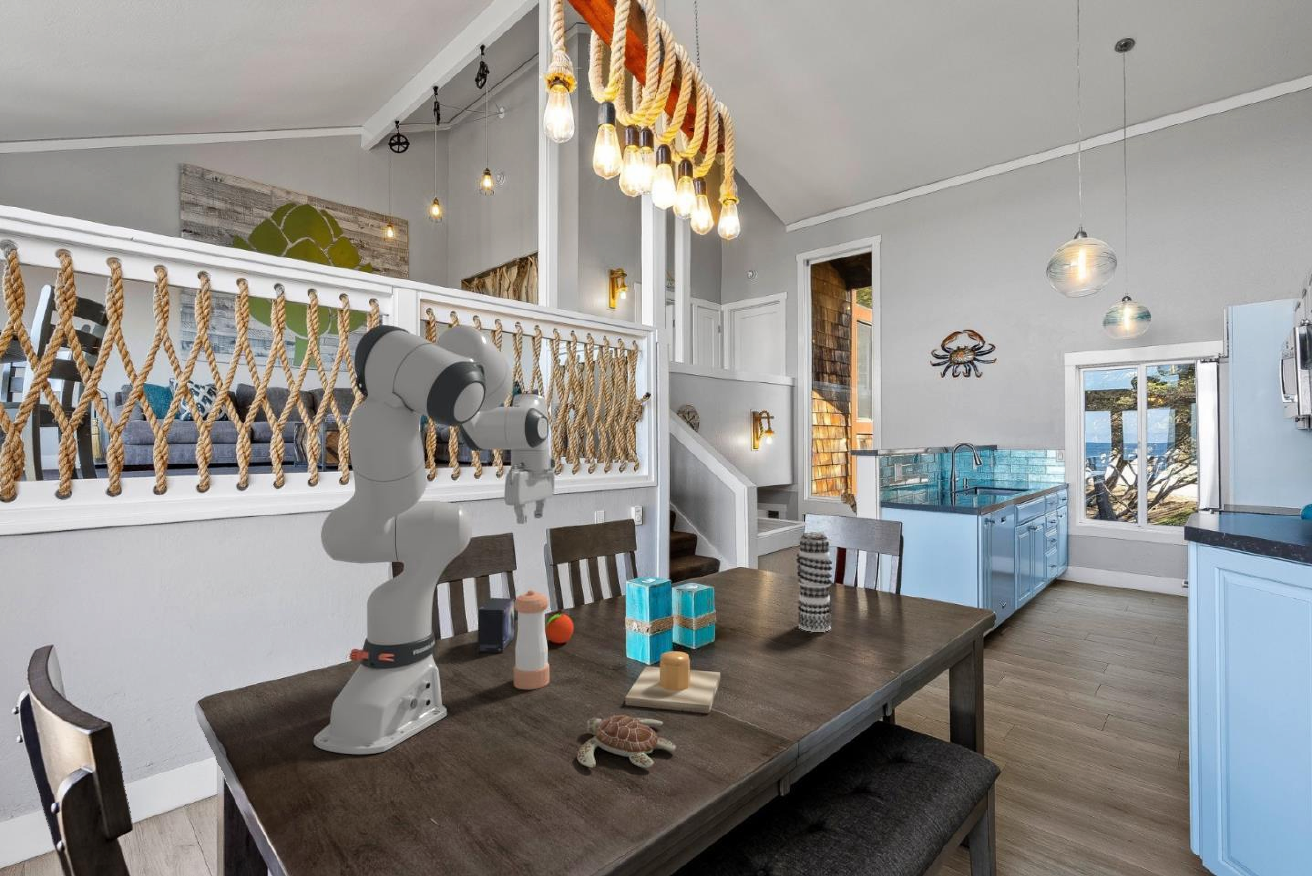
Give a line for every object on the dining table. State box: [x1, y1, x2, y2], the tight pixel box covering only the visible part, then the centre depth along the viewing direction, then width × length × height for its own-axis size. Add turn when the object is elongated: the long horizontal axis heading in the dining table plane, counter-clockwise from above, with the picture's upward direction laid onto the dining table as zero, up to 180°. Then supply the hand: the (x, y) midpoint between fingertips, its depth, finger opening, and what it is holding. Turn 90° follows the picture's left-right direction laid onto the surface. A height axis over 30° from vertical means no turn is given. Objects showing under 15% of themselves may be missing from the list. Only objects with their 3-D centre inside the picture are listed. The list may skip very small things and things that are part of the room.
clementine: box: [545, 613, 575, 644], centre depth 151 cm, size 8×7×7 cm
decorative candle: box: [796, 531, 833, 633], centre depth 162 cm, size 9×9×25 cm
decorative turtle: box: [576, 714, 676, 768], centre depth 100 cm, size 18×17×5 cm
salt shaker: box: [513, 589, 550, 690], centre depth 127 cm, size 7×7×19 cm
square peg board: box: [624, 665, 721, 714], centre depth 122 cm, size 16×16×6 cm
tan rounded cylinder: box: [659, 650, 691, 690], centre depth 122 cm, size 6×6×6 cm
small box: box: [477, 597, 515, 654], centre depth 149 cm, size 11×6×10 cm, turn 179°
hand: (530, 520), depth 145 cm, fingers open, 8 cm apart
